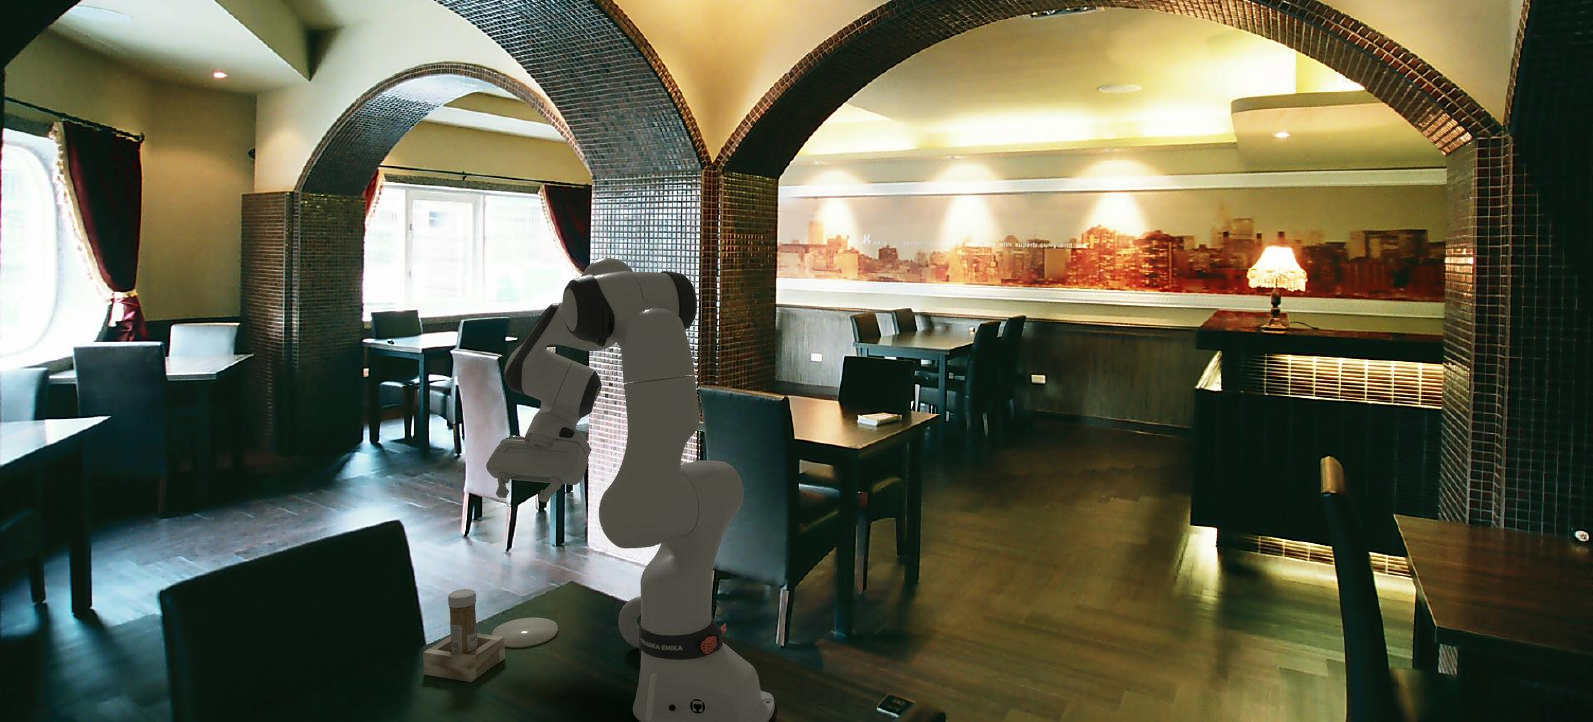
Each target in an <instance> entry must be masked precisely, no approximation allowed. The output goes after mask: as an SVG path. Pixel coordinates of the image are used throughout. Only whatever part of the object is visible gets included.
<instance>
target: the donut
mask: <svg viewBox="0 0 1593 722" xmlns="http://www.w3.org/2000/svg"><path fill="white" fill-rule="evenodd" d="M640 616H641V595H640V596H636V597H634V598H632V599H630V600H628V601H627V602H626V603H625V604H624V605H623V606H622V609H621V610H620V612H619V615H618V623H617V624H618V628H619V632H620V633H621V635H622V637H623V639H624V640H625V642H627V643H628V644H629V645H631V646H633V647H634V648H637V649H639V623H638V618H639V617H640Z"/></svg>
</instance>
